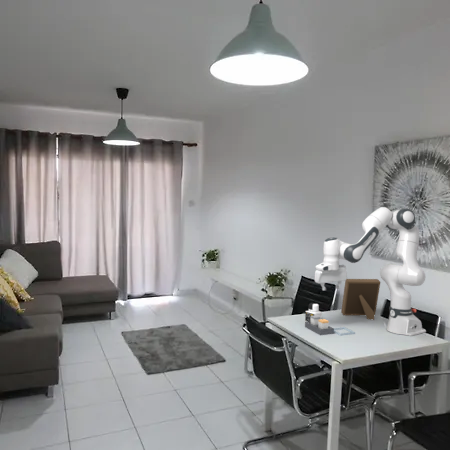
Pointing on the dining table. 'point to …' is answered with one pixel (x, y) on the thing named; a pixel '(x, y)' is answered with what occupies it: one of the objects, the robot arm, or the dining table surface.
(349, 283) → the photo frame
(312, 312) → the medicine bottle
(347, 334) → the tray
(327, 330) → the square-holed metal block
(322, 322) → the plug
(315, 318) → the grey rectangular block
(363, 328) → the dining table surface
